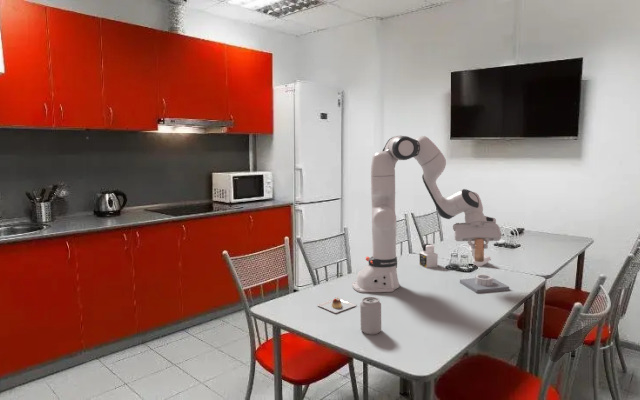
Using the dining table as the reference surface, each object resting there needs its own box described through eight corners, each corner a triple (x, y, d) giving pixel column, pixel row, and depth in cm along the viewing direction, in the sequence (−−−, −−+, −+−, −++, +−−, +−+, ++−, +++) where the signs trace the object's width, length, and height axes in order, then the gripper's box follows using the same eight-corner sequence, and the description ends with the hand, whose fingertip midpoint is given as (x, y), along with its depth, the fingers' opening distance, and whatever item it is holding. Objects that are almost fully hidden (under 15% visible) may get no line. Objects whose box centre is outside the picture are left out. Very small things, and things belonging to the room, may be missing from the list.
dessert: (316, 307, 178) (316, 296, 178) (337, 300, 186) (337, 289, 185) (335, 315, 169) (335, 304, 168) (357, 307, 177) (356, 296, 176)
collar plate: (476, 293, 188) (476, 283, 187) (459, 282, 202) (459, 273, 202) (509, 289, 190) (509, 280, 190) (490, 279, 205) (490, 270, 205)
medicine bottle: (419, 264, 234) (419, 243, 233) (430, 263, 236) (430, 242, 235) (426, 268, 227) (426, 246, 226) (437, 266, 229) (437, 245, 228)
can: (379, 326, 157) (379, 295, 155) (383, 335, 149) (382, 302, 148) (359, 327, 156) (358, 296, 155) (362, 336, 149) (361, 303, 147)
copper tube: (477, 262, 189) (477, 240, 188) (472, 259, 193) (472, 238, 192) (485, 261, 190) (485, 239, 188) (480, 259, 193) (480, 237, 192)
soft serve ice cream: (469, 270, 226) (462, 245, 226) (461, 265, 241) (455, 241, 241) (492, 264, 225) (485, 239, 225) (483, 259, 240) (476, 235, 240)
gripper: (453, 219, 198) (456, 244, 189) (499, 218, 194) (504, 244, 186) (451, 226, 203) (454, 251, 194) (496, 226, 199) (501, 251, 191)
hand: (479, 248), depth 190 cm, fingers closed on copper tube, 4 cm apart
